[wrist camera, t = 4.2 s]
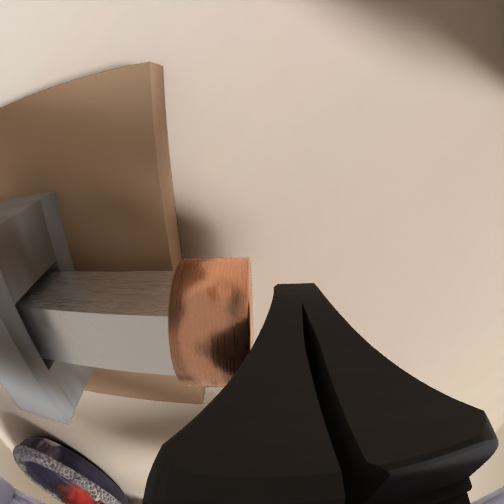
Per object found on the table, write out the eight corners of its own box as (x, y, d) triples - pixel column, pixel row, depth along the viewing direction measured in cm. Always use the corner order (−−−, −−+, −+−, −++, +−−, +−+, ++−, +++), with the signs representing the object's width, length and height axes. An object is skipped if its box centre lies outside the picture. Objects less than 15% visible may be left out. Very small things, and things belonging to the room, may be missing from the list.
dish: (121, 454, 23) (110, 495, 19) (142, 514, 37) (138, 536, 33) (-2, 401, 22) (-20, 433, 18) (63, 487, 36) (57, 507, 31)
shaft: (253, 329, 12) (252, 412, 9) (-24, 309, 13) (-60, 351, 9) (249, 235, 10) (245, 310, 7) (-49, 249, 11) (-93, 286, 7)
